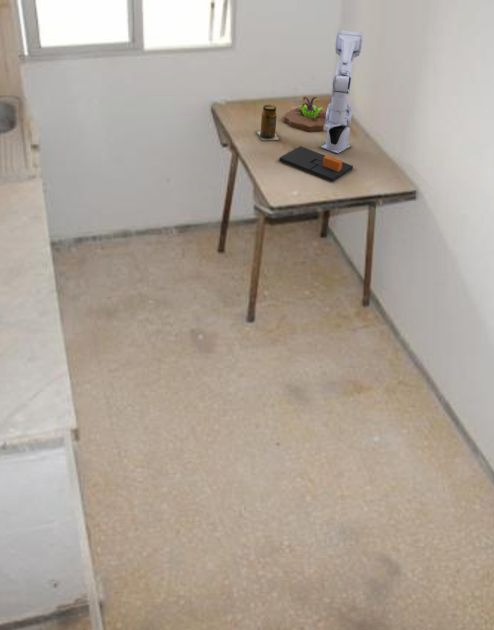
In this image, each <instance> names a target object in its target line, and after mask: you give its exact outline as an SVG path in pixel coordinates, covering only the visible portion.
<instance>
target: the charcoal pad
mask: <svg viewBox="0 0 494 630" xmlns="http://www.w3.org/2000/svg"><path fill="white" fill-rule="evenodd" d="M312 163H313V164H316V165H317V166H316V167H314V168H313V169H311V170H310V173H309V174H311V175H314V176H316V177H318V178H322V179H323V180H326V181H328V182H331V183H333V182H335V181H336V180H338V179H340V178H341V177H343V176H345V175H346V174H347V173H350V171H353V168H354V165H352V164H349V163H346V162H344V161H343V160H341V159H338V158H336V157H333V156H330V155H325V157H324V158H323V162H321V161H319V160H315V161H314V162H312Z"/></svg>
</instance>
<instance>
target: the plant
mask: <svg viewBox="0 0 494 630" xmlns="http://www.w3.org/2000/svg"><path fill="white" fill-rule="evenodd" d="M301 100H302V101H307V102H304V103H302V104H299V105H298V107H295V108H292V109H290V110H289V111H286V113H285V114H284V118H283V123H284V124H285V123H286V124H288V125H289V126H290V127H292V128H295V129H298V130H302V131H305V132H309V133H310V132H320V131H324V130H323V128H324V125H325V119H326V112H327V111H324V110H323V107H317V105H316V104H314V101H315V102H316V103H318V102H319V98H318V97H317V96H313V97H312V98H311V99H309V98H308V97H307V96H303V97H302V98H301Z"/></svg>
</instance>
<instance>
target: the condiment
mask: <svg viewBox="0 0 494 630" xmlns="http://www.w3.org/2000/svg"><path fill="white" fill-rule="evenodd" d="M277 116H278V115H277V106H276V105H274V104H265V105H263V107H262V113H261V119H260V120H261V121H260V130H259V131H258V130H257V131H256V133H257V135H258V136H259V139H260V140H261V141H277V140H280V138H279V137H278V135H277V133H276V129H277V118H278V117H277Z"/></svg>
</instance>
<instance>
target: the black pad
mask: <svg viewBox="0 0 494 630" xmlns="http://www.w3.org/2000/svg"><path fill="white" fill-rule="evenodd" d="M325 156H326V155H325V154H323V153H320V152H317V151H315V150H312V149H310V148H307V147H304V146H302V145H300V146H298V147H296V148H294V149H292V150H291V151H289V152H286V153H285V154H283V155H282V156H280V157H279V160H278V161H279V163H280V162H281V163H284V164H285V165H287V166H291V167H293V168H295V169H297V170H301V171H303V172H305V173H308V174H311V173H310V170H311V169H313V168H314V167H316V166H317V165H316V164H313V163H312V162H314V161H315V160H319V161H321V162H323V158H324V157H325Z"/></svg>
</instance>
